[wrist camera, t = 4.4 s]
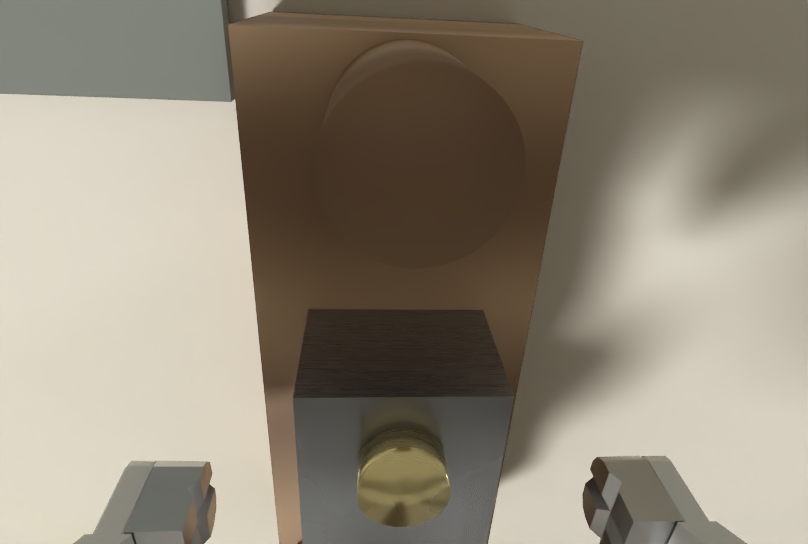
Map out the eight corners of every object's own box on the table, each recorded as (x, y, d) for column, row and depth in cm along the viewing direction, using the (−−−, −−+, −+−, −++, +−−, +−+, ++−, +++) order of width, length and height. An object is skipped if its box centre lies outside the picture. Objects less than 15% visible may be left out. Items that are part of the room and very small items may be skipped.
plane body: (452, 511, 22) (527, 970, 12) (302, 514, 21) (246, 997, 11) (517, 23, 13) (1020, 155, 3) (270, 11, 13) (-99, 119, 3)
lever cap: (454, 520, 15) (477, 662, 12) (317, 523, 15) (304, 670, 12) (483, 309, 12) (526, 430, 9) (308, 308, 11) (286, 433, 8)
